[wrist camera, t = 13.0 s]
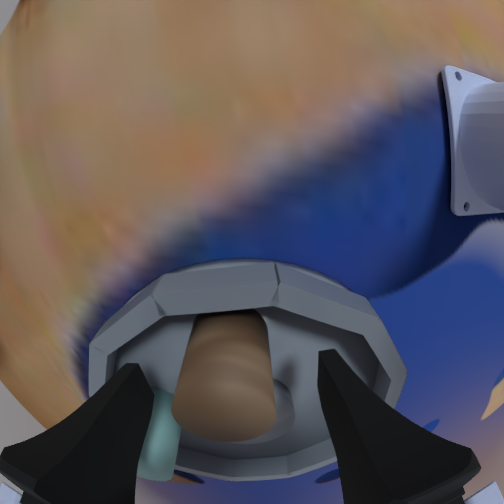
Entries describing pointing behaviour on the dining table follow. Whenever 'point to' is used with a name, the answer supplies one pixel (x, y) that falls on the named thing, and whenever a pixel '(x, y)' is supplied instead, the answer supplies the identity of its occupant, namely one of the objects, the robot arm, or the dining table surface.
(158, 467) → the bead teal
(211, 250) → the dining table surface
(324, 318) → the tray
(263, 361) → the bead walnut
